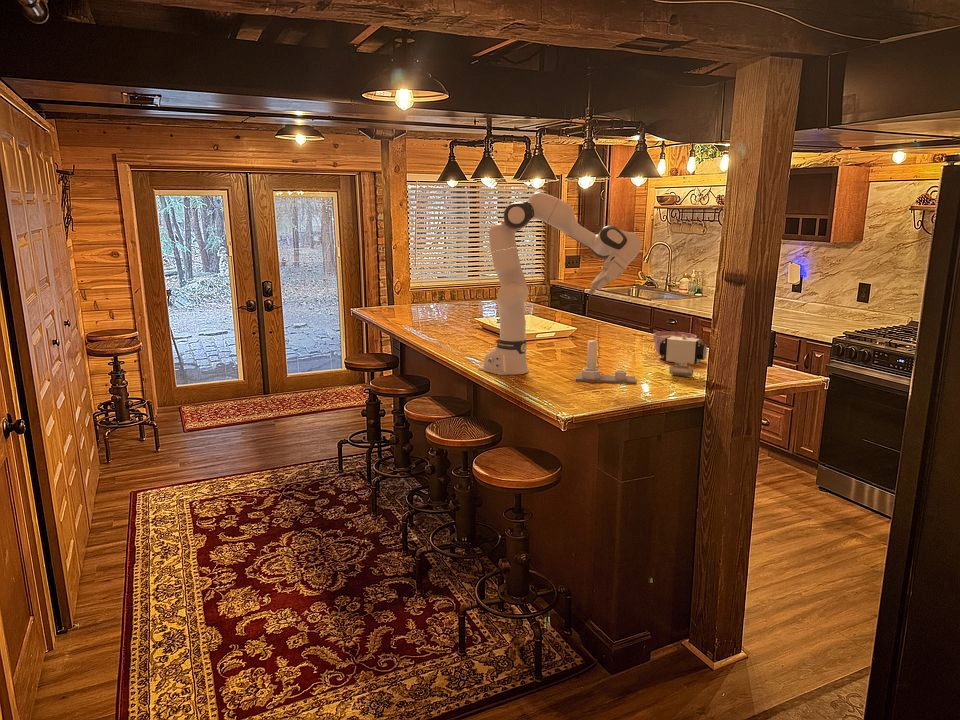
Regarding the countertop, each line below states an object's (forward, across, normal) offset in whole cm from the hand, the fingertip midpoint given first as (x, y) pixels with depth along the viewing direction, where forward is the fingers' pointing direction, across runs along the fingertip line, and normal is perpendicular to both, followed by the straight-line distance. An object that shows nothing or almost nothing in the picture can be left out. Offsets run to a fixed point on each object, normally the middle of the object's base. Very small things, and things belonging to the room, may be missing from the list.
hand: (593, 291), depth 270 cm
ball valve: (0, -8, +53) cm, 54 cm away
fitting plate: (+23, -6, +28) cm, 37 cm away
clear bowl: (-16, -40, +56) cm, 70 cm away
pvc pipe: (+22, -19, +24) cm, 37 cm away
